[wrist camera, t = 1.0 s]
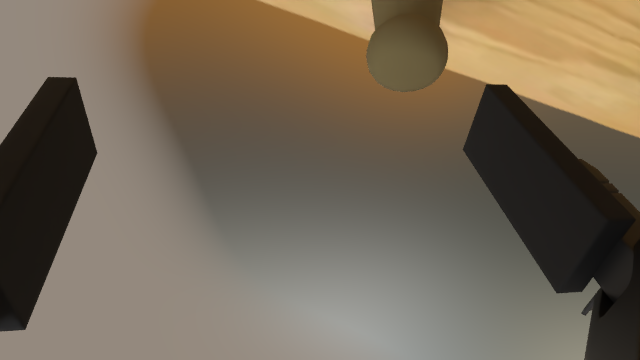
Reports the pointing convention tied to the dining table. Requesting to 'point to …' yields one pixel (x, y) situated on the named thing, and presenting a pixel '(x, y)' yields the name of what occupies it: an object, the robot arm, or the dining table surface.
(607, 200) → the robot arm
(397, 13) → the brown game pawn
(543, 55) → the dining table surface
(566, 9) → the dining table surface
